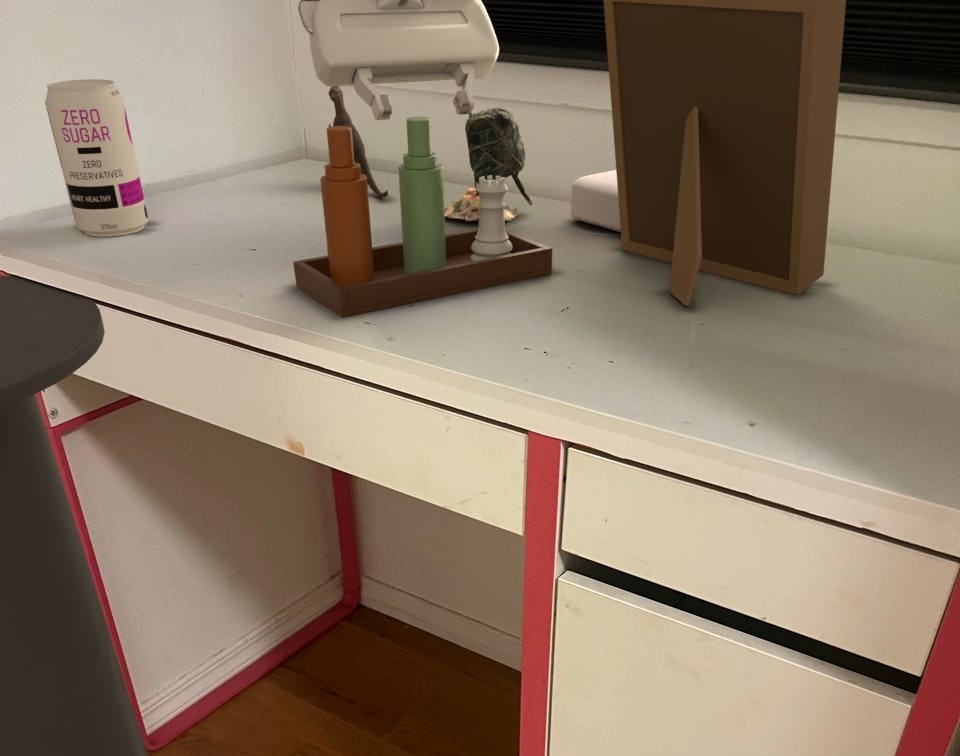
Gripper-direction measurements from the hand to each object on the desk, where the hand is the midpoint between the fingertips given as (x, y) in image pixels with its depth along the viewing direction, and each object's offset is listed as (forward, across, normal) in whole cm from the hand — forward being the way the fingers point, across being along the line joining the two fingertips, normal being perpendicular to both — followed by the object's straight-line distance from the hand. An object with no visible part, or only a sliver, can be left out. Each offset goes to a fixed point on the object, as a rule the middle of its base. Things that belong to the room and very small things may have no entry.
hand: (425, 113), depth 101 cm
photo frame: (+26, +17, -11) cm, 33 cm away
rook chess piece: (+18, +1, -1) cm, 18 cm away
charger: (+14, +24, +2) cm, 28 cm away
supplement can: (-5, -31, +25) cm, 40 cm away
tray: (+19, -6, -2) cm, 20 cm away
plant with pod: (+6, +10, +12) cm, 17 cm away
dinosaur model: (-8, +2, +27) cm, 28 cm away
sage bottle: (+18, -6, -2) cm, 20 cm away
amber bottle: (+19, -14, -2) cm, 24 cm away
